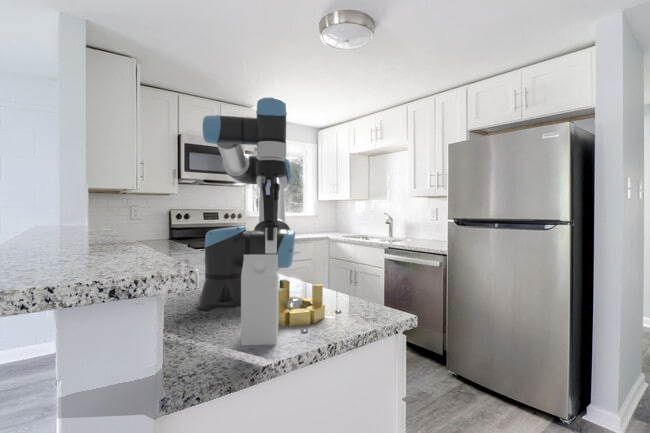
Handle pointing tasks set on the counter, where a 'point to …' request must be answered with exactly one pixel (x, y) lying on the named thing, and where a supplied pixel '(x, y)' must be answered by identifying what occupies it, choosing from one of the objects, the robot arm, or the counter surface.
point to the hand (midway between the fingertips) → (270, 252)
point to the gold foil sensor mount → (310, 306)
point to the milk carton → (259, 300)
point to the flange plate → (300, 307)
